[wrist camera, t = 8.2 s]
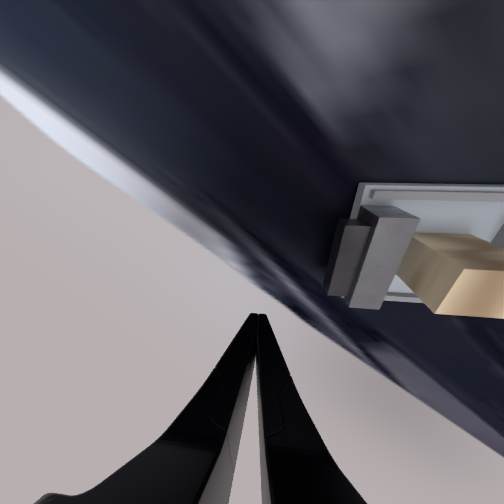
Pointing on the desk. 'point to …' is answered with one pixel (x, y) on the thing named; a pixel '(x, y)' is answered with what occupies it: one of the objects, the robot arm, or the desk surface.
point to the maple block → (455, 274)
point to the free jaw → (368, 254)
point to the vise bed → (439, 214)
